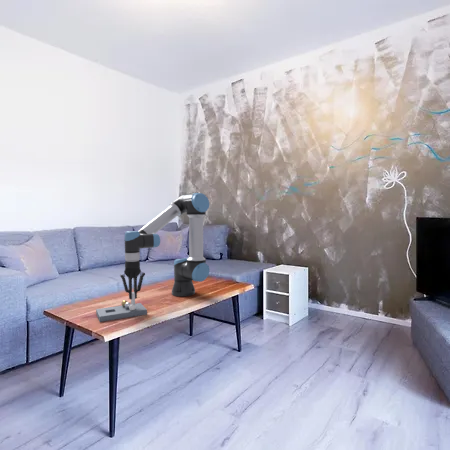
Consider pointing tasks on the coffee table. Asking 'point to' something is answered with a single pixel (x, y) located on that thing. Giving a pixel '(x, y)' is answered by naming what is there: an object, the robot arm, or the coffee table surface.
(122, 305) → the brass ball
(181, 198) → the robot arm
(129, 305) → the steel ball
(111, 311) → the board
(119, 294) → the coffee table surface
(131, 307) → the white ball
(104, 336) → the coffee table surface
